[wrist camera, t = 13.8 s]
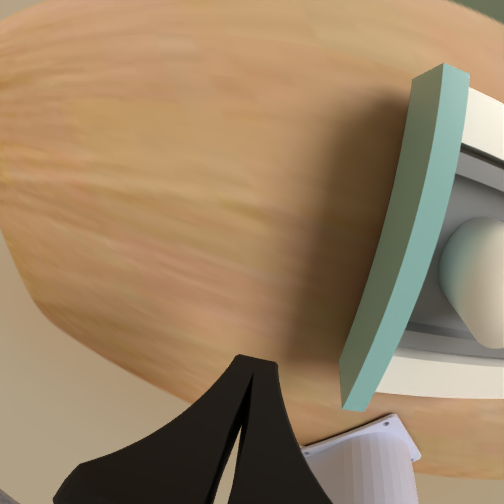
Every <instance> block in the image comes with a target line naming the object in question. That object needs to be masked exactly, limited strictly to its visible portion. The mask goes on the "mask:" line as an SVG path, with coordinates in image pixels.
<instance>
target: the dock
mask: <svg viewBox="0 0 504 504" xmlns="http://www.w3.org/2000/svg"><path fill="white" fill-rule="evenodd" d="M460 152H462V153H464V154H467V155H469V156H472V157H474V158H477V159H479V160H482V161H484V162H487V163H489V164H491V165H494V166H496V167H498V168H500V169H503V170H504V104H503V103H501V102H499V101H497V100H495V99H493V98H491V97H489V96H487V95H485V94H483V93H481V92H478V91H476V90H474V89H472V88H470V87H469V91H468V100H467V108H466V116H465V123H464V129H463V135H462V141H461V147H460ZM375 392H381V393H391V394H401V395H413V396H427V397H444V398H474V399H504V358H494V357H483V356H473V355H464V354H455V353H447V352H439V351H431V350H423V349H416V348H409V347H402V346H397V348H396V350H395V352H394V354H393V357H392V359H391V361H390V363H389V365H388V367H387V369H386V371H385V373H384V375H383V377H382V379H381V381H380V383H379V385H378V387H377V389H376V391H375Z"/></svg>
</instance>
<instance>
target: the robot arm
mask: <svg viewBox="0 0 504 504" xmlns="http://www.w3.org/2000/svg"><path fill="white" fill-rule="evenodd" d="M241 425H242V427H241ZM240 428H241V434H240V440H239V447H238V454H237V461H236V467H235V474H234V479H233V485H232V489H231V493H230V496H229V500H228V504H419V502H418V496H417V490H416V484H415V478H414V473H413V467H412V462H414V461H416V460H419V459H420V458H421V453H420V451H419V450H418V448H417V447H416V445H415V443H414V442H413V440H412V438H411V437H410V435H409V433H408V432H407V430H406V429H405V427H404V425H403V424H402V422H401V421H400V419H399V417H398V416H397V415H396V414H390V415H388V416H385V417H383V418H381V419H379V420H376V421H374V422H372V423H369V424H367V425H364V426H362V427H359V428H357V429H354V430H352V431H349V432H347V433H344V434H341V435H339V436H336V437H333V438H330V439H327V440H325V441H322V442H319V443H316V444H313V445H310V446H306V447H303V448H300V447H299V445H298V442H297V440H296V438H295V435H294V433H293V430H292V427H291V424H290V422H289V418H288V415H287V412H286V409H285V405H284V401H283V398H282V393H281V388H280V383H279V376H278V365H277V363H276V362H273V361H268V360H263V359H259V358H254V357H250V356H245V355H241V354H239V355H237V356H235V358H234V359H233V361H232V362H231V364H230V365H229V367H228V368H227V369H226V371H225V372H224V373H223V374H222V375H221V377H220V378H219V379H218V380H217V381H216V382H215V383H214V384H213V385H212V386H211V387H210V389H209V390H208V391H207V392H206V393H205V394H204V395H202V396H201V397H200V398H199V399H198V400H197V401H196V402H195V403H194V404H192V405H191V406H190V407H189V408H188V409H187V410H185V411H184V412H183V413H182V414H180V415H179V416H178V417H177V418H175V419H174V420H172V421H171V422H169V423H168V424H166V425H165V426H163V427H162V428H160V429H159V430H157V431H155V432H154V433H152V434H150V435H149V436H147V437H145V438H143V439H141V440H139V441H138V442H135V443H133V444H131V445H129V446H127V447H125V448H123V449H120V450H118V451H116V452H113V453H111V454H108V455H105V456H103V457H100V458H97V459H94V460H91V461H88V462H84V463H81V464H79V465H78V466H77V467H76V468H75V469H74V470H73V471H72V472H71V474H70V475H69V476H68V477H67V478H66V479H65V480H64V482H63V483H62V485H61V487H60V488H59V490H58V491H57V493H56V495H55V496H54V497H53V503H54V504H213V503H214V499H215V496H216V492H217V489H218V485H219V482H220V479H221V477H222V474H223V471H224V469H225V466H226V464H227V461H228V459H229V456H230V454H231V451H232V449H233V446H234V443H235V441H236V438H237V435H238V433H239V430H240ZM0 504H20V503H18V502H17V501H15V500H14V499H13V498H11V497H10V496H9V495H7V494H6V493H5V492H4V491H2V490H1V489H0Z"/></svg>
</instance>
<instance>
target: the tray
mask: <svg viewBox="0 0 504 504" xmlns="http://www.w3.org/2000/svg"><path fill="white" fill-rule="evenodd" d="M469 80H470V74H468V73H466V72H464V71H462V70H459V69H457V68H455V67H452V66H450V65H447V64H445V63H443V64H441V65H439V66H437V67H435V68H433V69H431V70H429V71H427V72H425V73H423V74H422V75H420V76H418V77H416V78H414V79H412V85H411V93H410V100H409V106H408V113H407V119H406V125H405V131H404V136H403V141H402V147H401V152H400V157H399V162H398V166H397V171H396V176H395V180H394V185H393V189H392V193H391V197H390V201H389V206H388V210H387V213H386V217H385V221H384V225H383V229H382V232H381V236H380V240H379V243H378V247H377V250H376V254H375V257H374V260H373V264H372V267H371V270H370V274H369V277H368V280H367V283H366V286H365V289H364V292H363V295H362V298H361V301H360V304H359V307H358V310H357V313H356V316H355V319H354V321H353V324H352V327H351V330H350V333H349V335H348V338H347V341H346V343H345V346H344V349H343V351H342V354H341V356H340V359H339V361H338V363H339V375H340V387H341V401H342V409H344V410H352V411H361V412H364V411H365V409H366V407H367V405H368V404H369V402H370V400H371V398H372V396H373V394H374V392H375V391H376V389H377V387H378V385H379V383H380V381H381V379H382V377H383V375H384V373H385V371H386V369H387V367H388V365H389V363H390V361H391V359H392V357H393V354H394V352H395V350H396V348H397V346H402V347H409V348H416V349H423V350H431V351H439V352H447V353H455V354H464V355H473V356H483V357H494V358H504V348H499V349H492V348H487V347H485V346H483V345H481V344H480V343H479V342H478V341H477V340H476V339H475V337H474V336H473V334H472V333H471V332H470V330H469V329H468V327H467V326H466V324H465V323H464V322H463V320H462V319H461V317H460V316H459V315H458V313H457V312H456V310H455V309H454V308H453V306H452V305H451V304H450V302H449V301H448V299H447V298H446V297H445V295H444V294H443V292H442V290H441V287H440V283H439V275H438V270H439V262H440V258H441V254H442V252H443V249H444V247H445V245H446V243H447V241H448V240H449V238H450V237H451V235H452V234H453V233H454V232H455V231H456V230H457V229H458V228H459V227H460V226H461V225H462V224H464V223H465V222H467V221H468V220H470V219H473V218H475V217H480V216H490V217H494V218H496V219H498V220H500V221H502V222H504V170H503V169H500V168H498V167H496V166H494V165H491V164H489V163H487V162H484V161H482V160H479V159H477V158H474V157H472V156H469V155H467V154H464V153H462V152H460V147H461V141H462V135H463V129H464V123H465V116H466V108H467V100H468V91H469Z"/></svg>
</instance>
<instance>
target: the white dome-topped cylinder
mask: <svg viewBox="0 0 504 504" xmlns="http://www.w3.org/2000/svg"><path fill="white" fill-rule="evenodd" d="M438 275H439V283H440V287H441V290H442V292H443V294H444V295H445V297H446V298H447V299H448V301H449V302H450V304H451V305H452V306H453V308H454V309H455V310H456V312H457V313H458V315H459V316H460V317H461V319H462V320H463V322H464V323H465V324H466V326H467V327H468V329H469V330H470V332H471V333H472V334H473V336H474V337H475V339H476V340H477V341H478V342H479V343H480V344H481V345H483V346H485V347H487V348H492V349H499V348H504V222H502V221H500V220H498V219H496V218H494V217H490V216H480V217H475V218H473V219H470V220H468V221H467V222H465V223H464V224H462V225H461V226H460V227H459V228H458V229H457V230H456V231H455V232H454V233H453V234H452V235H451V237H450V238H449V240H448V241H447V243H446V245H445V247H444V249H443V252H442V254H441V258H440V262H439V270H438Z"/></svg>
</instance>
